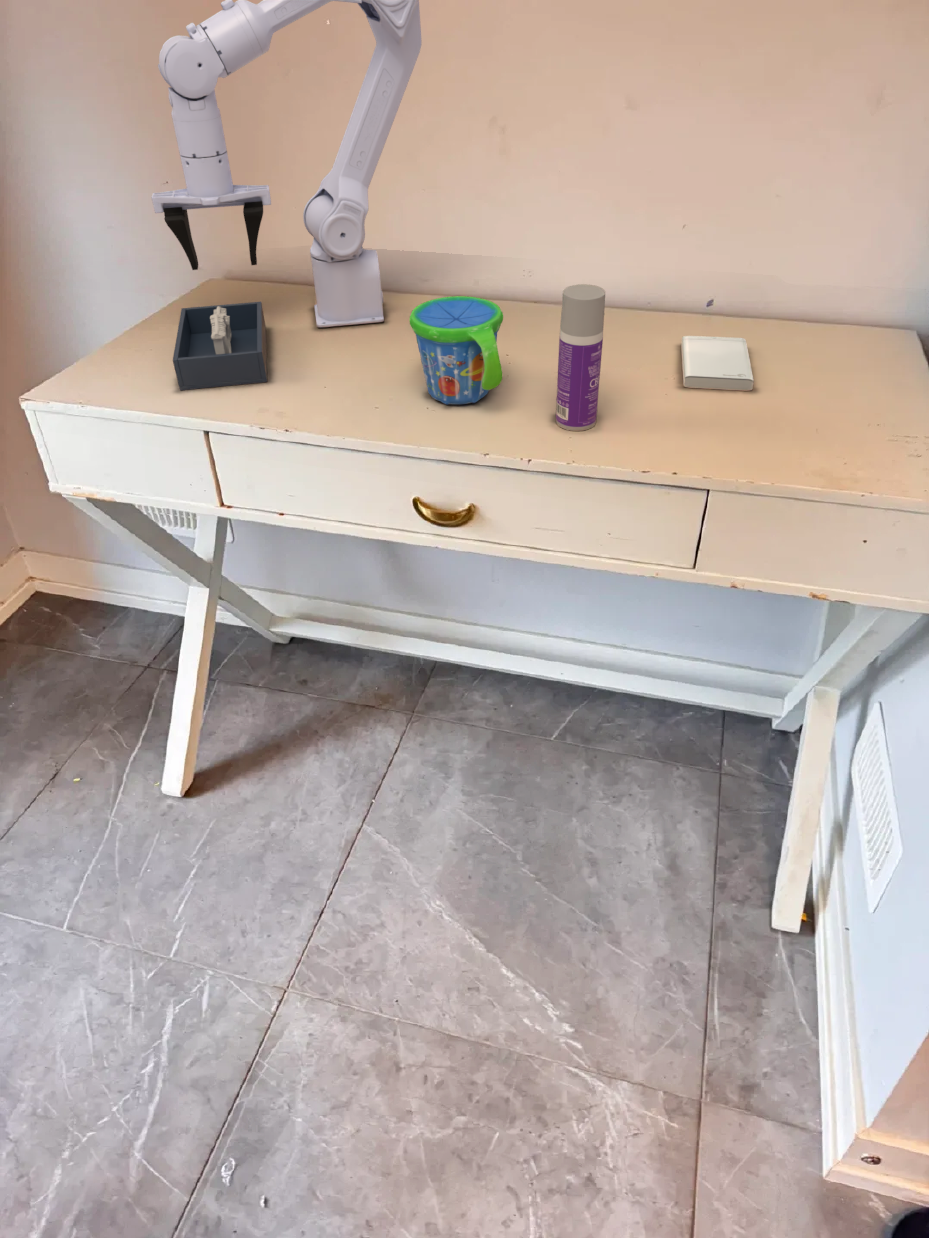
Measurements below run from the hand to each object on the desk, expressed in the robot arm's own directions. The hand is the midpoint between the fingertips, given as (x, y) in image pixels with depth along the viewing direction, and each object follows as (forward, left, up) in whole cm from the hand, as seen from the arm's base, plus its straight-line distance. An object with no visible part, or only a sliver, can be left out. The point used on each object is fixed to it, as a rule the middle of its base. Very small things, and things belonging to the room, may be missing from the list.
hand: (224, 265), depth 119 cm
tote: (+2, +8, -9) cm, 12 cm away
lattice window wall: (+1, +8, -9) cm, 12 cm away
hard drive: (-60, +25, -10) cm, 66 cm away
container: (-39, +35, -10) cm, 53 cm away
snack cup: (-27, +25, -10) cm, 38 cm away
